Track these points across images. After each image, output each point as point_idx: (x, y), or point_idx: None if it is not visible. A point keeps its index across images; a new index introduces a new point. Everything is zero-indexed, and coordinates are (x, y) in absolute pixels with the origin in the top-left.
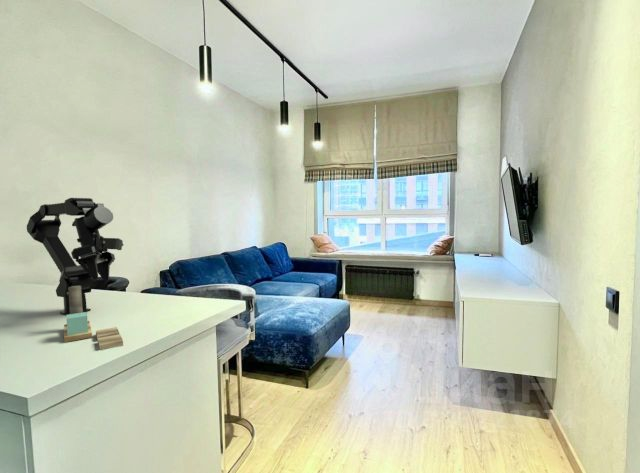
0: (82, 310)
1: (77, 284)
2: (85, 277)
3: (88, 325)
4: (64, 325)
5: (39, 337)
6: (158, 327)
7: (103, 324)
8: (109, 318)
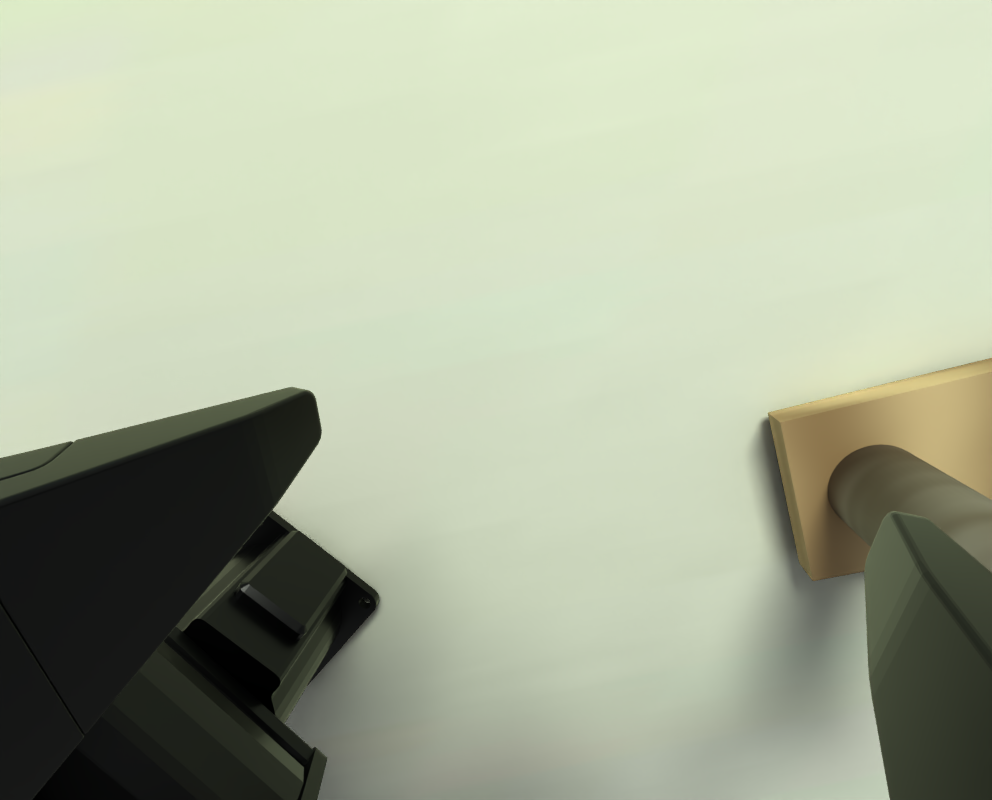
0: (961, 493)
1: (247, 768)
2: (86, 764)
3: (959, 391)
4: (842, 573)
5: None
6: None
7: (773, 306)
8: (583, 298)
